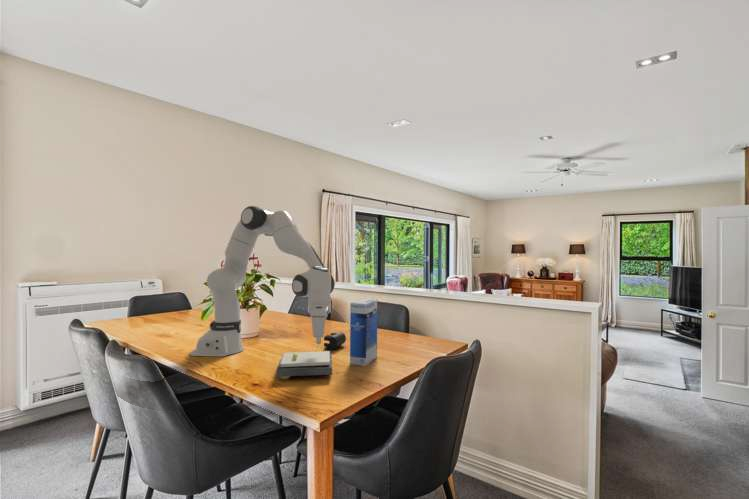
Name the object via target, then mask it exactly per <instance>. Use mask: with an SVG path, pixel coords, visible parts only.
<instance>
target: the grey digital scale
mask: <svg viewBox="0 0 749 499" xmlns="http://www.w3.org/2000/svg"><path fill="white" fill-rule="evenodd" d="M332 354H333V353H330V365H317V366H296V367H278V365H279V363H278V365H277V367H276V370H275V374H276V375H275V376H276V377H280V380H281V381H284V382H285V381H290V380H291V377H296V376H297V377H300V376H301V377H302V376H303V377H305V376H323V375H326V376H327V375H328V376H329V375H333V362H332V360H333V359H332V358H333V357H332ZM280 360H281V358H280ZM280 360H279V361H280Z"/></svg>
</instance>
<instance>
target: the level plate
mask: <svg viewBox="0 0 749 499" xmlns="http://www.w3.org/2000/svg"><path fill="white" fill-rule="evenodd" d="M330 352H331V350H324V351H323V350H321V351H301V352H298V351H294V352H283V353H282V354H281V358H280V359H281V360H279V362H278V364H279V365H277V367H296V366H317V365H330Z"/></svg>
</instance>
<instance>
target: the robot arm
mask: <svg viewBox="0 0 749 499" xmlns="http://www.w3.org/2000/svg"><path fill="white" fill-rule="evenodd" d="M260 235H264V236H267V237H272V238H273V240H274V243H275V246H276V247H277V248H278V250H280V252H282V253H285V254H288V255H292V256H294V257H297V258H300V259H301V260H303V261H304V262H305V263H306V265H307V266H308V267H309V268H308V270H307V271H305V272H302V273H301V272H300V273H298V274H296V275H295V276H294V278H292V281H291V282H292V283H291V290H292V292H293V294H294V295H295V296H296V297H298V298H307V303H308V304H307V313H308V314H309V316H310V317H311V330H312V336H313V338H315V340H316V341H315V342H316V344H317V345H321V344H322V338H324V335H325V334H324V333H325V327H326V320H327V318H328V315H329V314H330V313H332V310H331V309H332V298H331V294H332V293H333V291H334V289H335V284H336V283H335V282H336V281H335V279H334V277H333V275H332V274H331V272H330V269H329V267H326V266H325V265H324V263H323V262H322V260H321V258H320V257H319V254H317V252H316V251H315V248H314V247H313V246H312V244H310V243H309V242H308V241H307V240H306V239H305V238H304V237H303V235H302V234H301V232H300V231H299V229H298V227H297V224H296V223H295V220H294V218H293V217H292V216H291V215H290V213H288V211H285V210H276V211H275V212H274V211H271V209H270V210H269V209H265V208H261V207H259V206H257V205H255V206H253V205H251V206H250V205H249V206H247V207H245V208H244V209H243V210H242V212H241V214H240V220H239V221H238V223H237V225H236V226H235V227H234V229H233V231H232V234H231V236H230V239H229V241H228V243H227V246H226V249H225V251H224V256H225V260H224V265H223V267H221V268H217V269H214V270H213V271H211V272H210V273H209V274H208V276H207V277H206V286H207V287H208V288H209V290H210V291H211V295H212V300H213V304H214V320H212V321H211V322H210V324H209V330H208V331H207V332H205V333H204V334H203V335H202V336H200V337H199V338H198V340H197V341H196V342H197V343H196V347H194V348H193V349H192V350H191V352H190V356H192V357H222V358H223V357H226V356H230V355H234V354H237V353H241V352H242V351H244V350H245V349H244V345H243V341H242V334H241V333H242V319H241V302H240V301H239V299H238V295H237V289H239V288H241V287H242V286H243V285H244V284H245V282H246V281H247V280H246V279H247V276H246V275H247V270H248V265H249V261H250V257H251V255H252V253H253V251H254V248H255V245H256V243H257V239H258V238H259V237H260Z"/></svg>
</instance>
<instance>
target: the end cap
mask: <svg viewBox="0 0 749 499" xmlns="http://www.w3.org/2000/svg"><path fill="white" fill-rule="evenodd" d="M323 341H324V343H323V347H324V351H334V350H336V349H337V348H339V347H341V346H342V345H344V344H345V342H346V341H347V337H346V334H345V333H343V332H342V331H339V332H331V333H329V334H327V335H324V336H323ZM325 341H327V342H325Z"/></svg>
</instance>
